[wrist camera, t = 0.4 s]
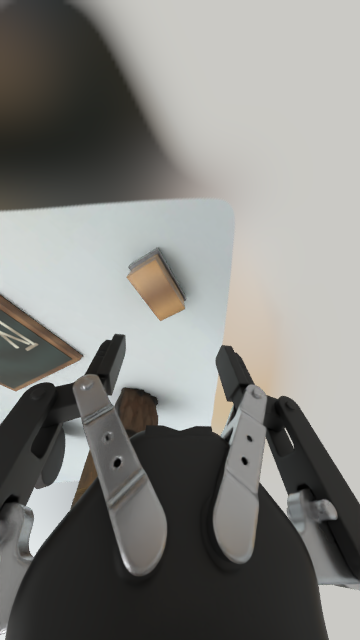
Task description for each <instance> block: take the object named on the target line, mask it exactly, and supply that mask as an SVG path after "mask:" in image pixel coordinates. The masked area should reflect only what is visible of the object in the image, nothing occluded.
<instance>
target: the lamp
mask: <svg viewBox="0 0 360 640" xmlns="http://www.w3.org/2000/svg"><path fill="white" fill-rule="evenodd" d="M64 453H65V434H64V430H63V429H62V427H61V429H60V432H59V434H58V436H57V438H56V440H55V443H54V445H53V447H52V449H51V451H50V454H49V456H48V458H47V460H46V462H45V465H44V467H43V469H42V471H41V473H40V476H39V478H38V480H37V482H36V484H35V488H36V489H40V488H43V487H46V486H49V485H51V484H52V483H53V482H54V481H55V479H56V478H57V476H58V474H59V472H60V469H61V466H62V462H63V458H64Z"/></svg>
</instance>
